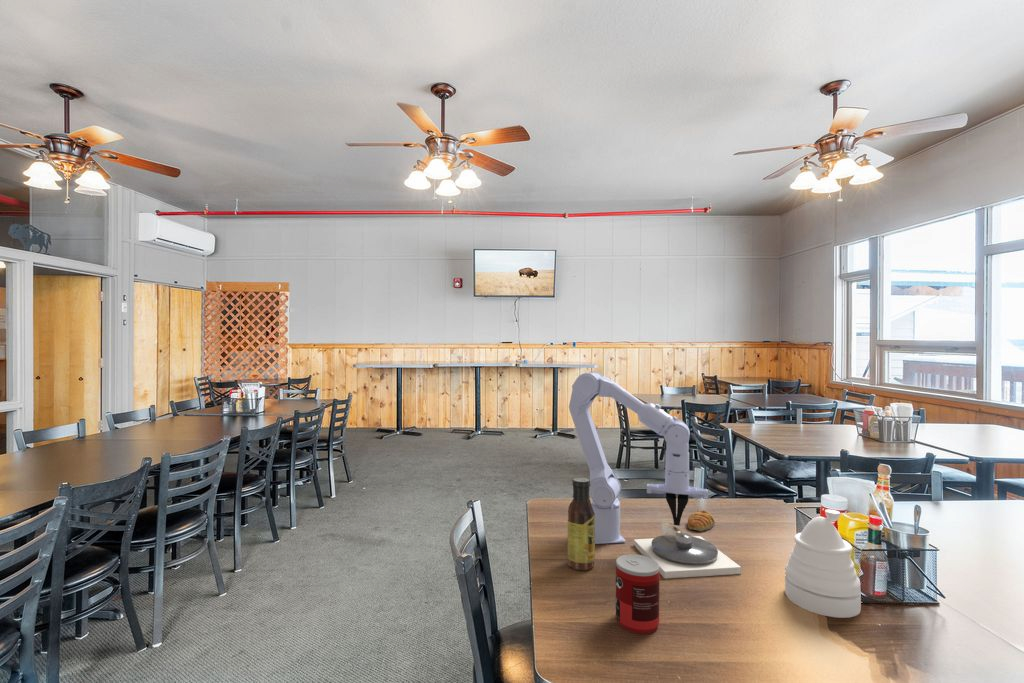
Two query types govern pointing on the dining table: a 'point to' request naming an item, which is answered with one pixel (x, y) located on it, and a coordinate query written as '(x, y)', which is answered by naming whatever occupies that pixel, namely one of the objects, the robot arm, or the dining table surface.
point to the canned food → (637, 593)
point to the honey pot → (823, 570)
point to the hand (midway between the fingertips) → (676, 524)
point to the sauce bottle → (581, 527)
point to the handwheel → (683, 547)
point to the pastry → (701, 521)
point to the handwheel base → (679, 570)
